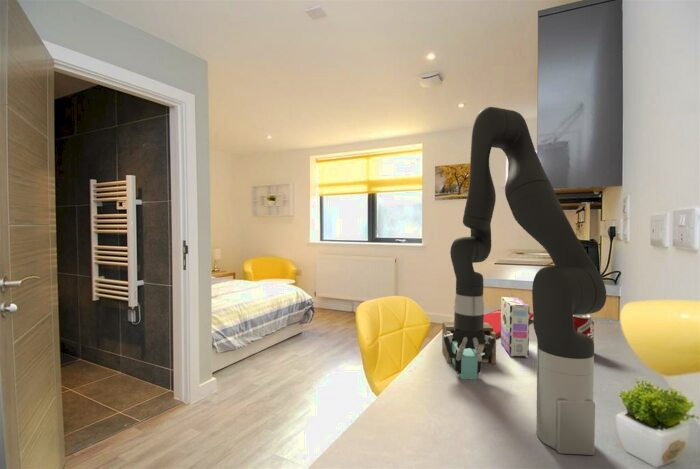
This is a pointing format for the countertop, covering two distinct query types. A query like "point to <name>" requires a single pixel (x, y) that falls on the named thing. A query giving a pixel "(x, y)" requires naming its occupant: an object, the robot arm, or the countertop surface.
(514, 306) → the candy box
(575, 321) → the soda can
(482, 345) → the oak offcut
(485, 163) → the robot arm
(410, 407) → the countertop surface
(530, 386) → the countertop surface
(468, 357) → the block
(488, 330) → the shelf
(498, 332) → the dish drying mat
